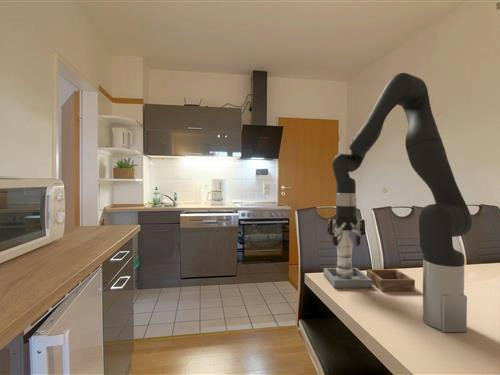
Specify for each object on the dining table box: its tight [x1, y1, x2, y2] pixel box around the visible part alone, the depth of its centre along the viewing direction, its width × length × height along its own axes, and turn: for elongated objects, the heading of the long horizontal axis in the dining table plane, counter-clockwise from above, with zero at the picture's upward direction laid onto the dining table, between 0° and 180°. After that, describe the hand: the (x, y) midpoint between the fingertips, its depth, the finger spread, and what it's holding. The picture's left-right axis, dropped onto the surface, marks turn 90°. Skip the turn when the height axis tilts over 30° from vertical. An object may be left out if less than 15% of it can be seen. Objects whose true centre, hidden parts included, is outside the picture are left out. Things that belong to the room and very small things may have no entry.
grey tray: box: [323, 267, 373, 289], centre depth 106 cm, size 14×14×3 cm
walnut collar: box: [366, 268, 416, 292], centre depth 102 cm, size 12×12×4 cm
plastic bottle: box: [335, 230, 354, 279], centre depth 106 cm, size 6×7×20 cm
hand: (346, 245), depth 106 cm, fingers open, 8 cm apart
